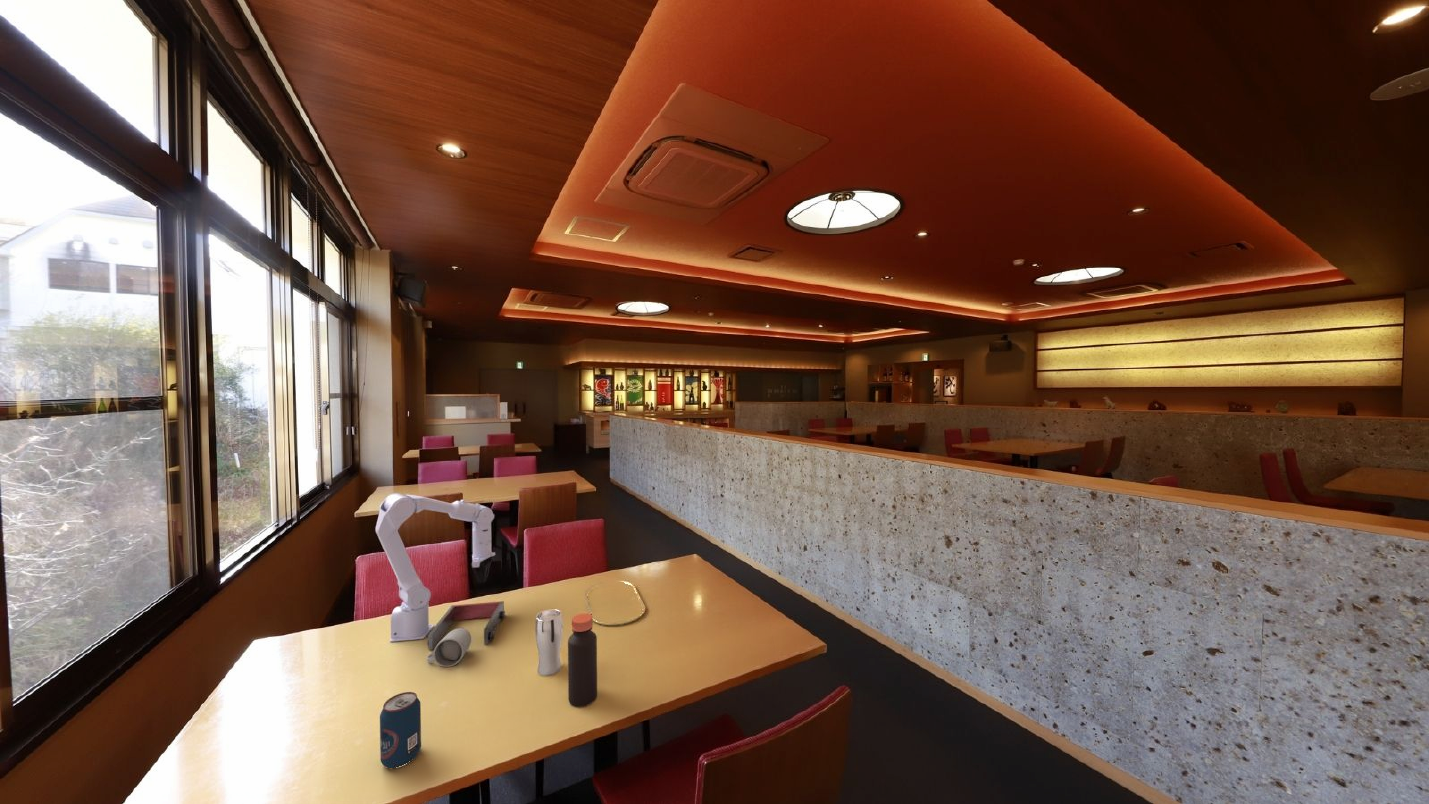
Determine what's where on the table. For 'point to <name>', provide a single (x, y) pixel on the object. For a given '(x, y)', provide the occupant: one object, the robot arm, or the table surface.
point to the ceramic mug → (451, 648)
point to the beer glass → (549, 641)
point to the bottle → (582, 662)
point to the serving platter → (616, 581)
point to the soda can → (400, 729)
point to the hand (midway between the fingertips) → (482, 580)
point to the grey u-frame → (469, 612)
